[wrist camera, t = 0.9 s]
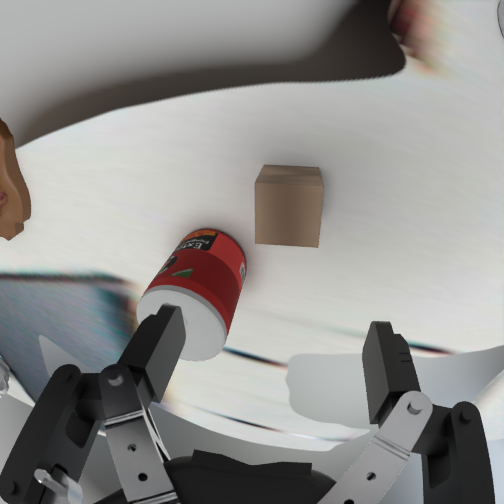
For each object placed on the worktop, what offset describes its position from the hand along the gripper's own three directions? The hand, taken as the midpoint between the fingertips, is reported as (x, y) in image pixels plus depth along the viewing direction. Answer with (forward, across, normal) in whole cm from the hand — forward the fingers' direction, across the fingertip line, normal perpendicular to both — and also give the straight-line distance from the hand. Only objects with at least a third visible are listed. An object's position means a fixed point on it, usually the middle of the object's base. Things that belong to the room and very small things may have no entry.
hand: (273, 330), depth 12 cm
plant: (+19, +45, -3) cm, 49 cm away
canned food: (+18, +8, +8) cm, 21 cm away
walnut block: (+18, 0, 0) cm, 18 cm away
